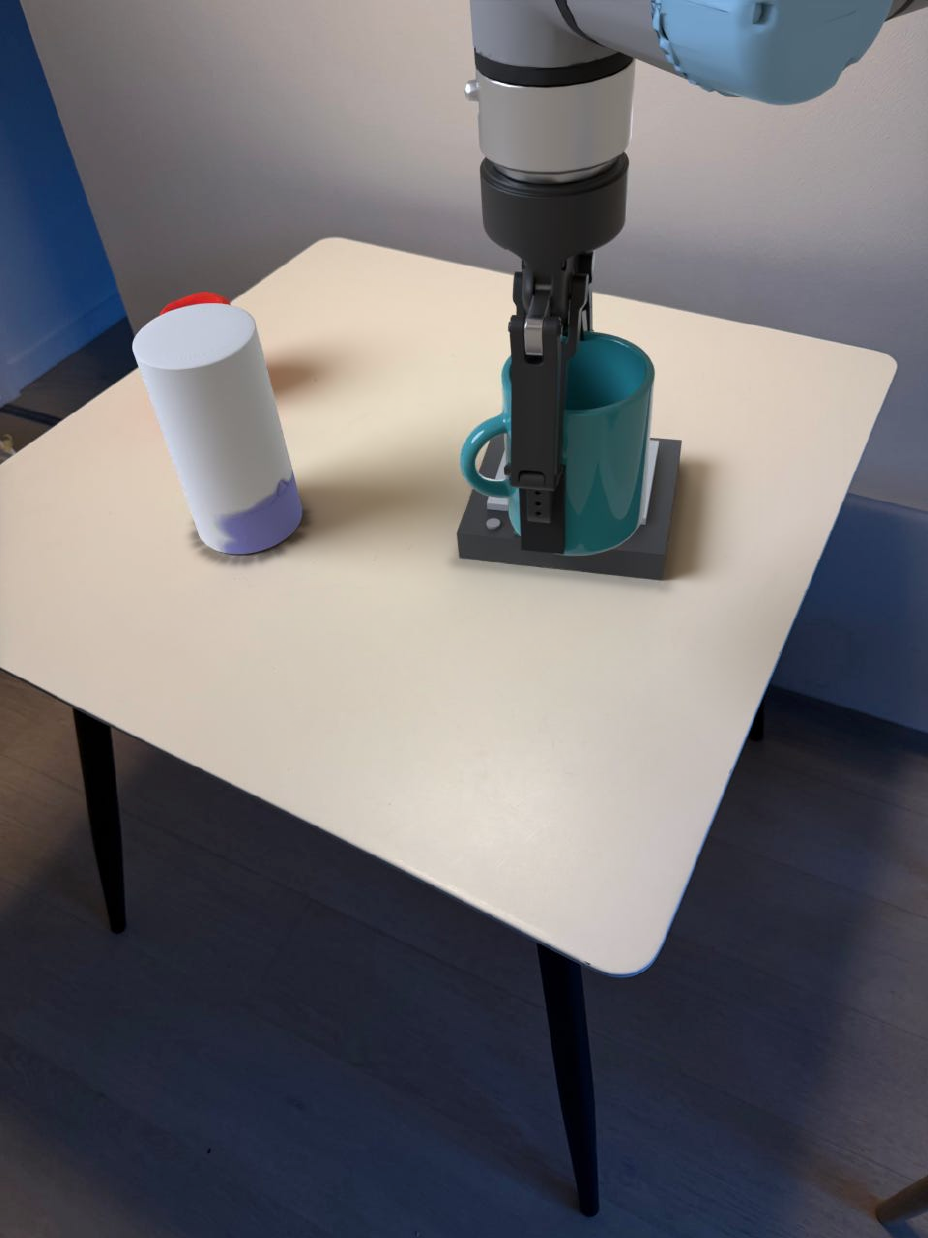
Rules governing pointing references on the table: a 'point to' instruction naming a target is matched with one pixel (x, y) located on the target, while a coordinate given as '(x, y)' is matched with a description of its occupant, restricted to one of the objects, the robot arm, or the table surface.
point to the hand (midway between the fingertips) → (555, 498)
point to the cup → (588, 444)
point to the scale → (638, 556)
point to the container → (221, 425)
